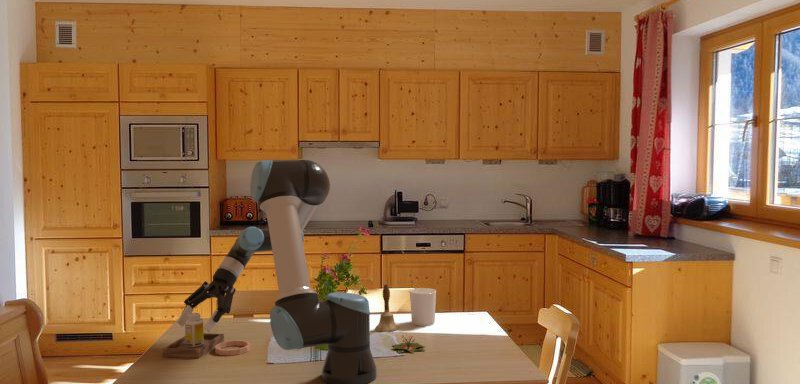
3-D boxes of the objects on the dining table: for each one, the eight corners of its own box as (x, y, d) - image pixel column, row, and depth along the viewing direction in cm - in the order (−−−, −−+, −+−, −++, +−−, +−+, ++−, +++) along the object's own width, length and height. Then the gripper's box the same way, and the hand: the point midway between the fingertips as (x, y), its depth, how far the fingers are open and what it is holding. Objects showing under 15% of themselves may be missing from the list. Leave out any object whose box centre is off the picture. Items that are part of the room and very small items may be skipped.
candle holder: (405, 321, 232) (405, 289, 231) (428, 318, 236) (428, 286, 235) (417, 327, 223) (416, 294, 222) (441, 324, 227) (441, 291, 226)
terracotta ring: (242, 355, 193) (241, 350, 193) (209, 354, 195) (209, 349, 195) (255, 345, 204) (255, 340, 204) (224, 344, 206) (223, 339, 206)
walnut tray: (199, 358, 192) (198, 350, 192) (162, 356, 193) (162, 348, 193) (224, 341, 209) (223, 333, 209) (190, 340, 211) (190, 332, 211)
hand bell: (397, 332, 218) (397, 286, 217) (374, 331, 219) (373, 286, 218) (399, 325, 226) (398, 282, 225) (376, 325, 227) (376, 282, 226)
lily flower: (431, 353, 194) (431, 339, 194) (394, 357, 192) (394, 342, 191) (421, 343, 206) (421, 329, 206) (385, 346, 203) (385, 332, 203)
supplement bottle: (205, 342, 204) (204, 311, 204) (201, 347, 199) (200, 316, 198) (188, 343, 204) (187, 312, 203) (183, 348, 198) (182, 316, 198)
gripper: (259, 283, 208) (226, 338, 196) (209, 276, 222) (175, 327, 210) (247, 270, 203) (212, 326, 192) (197, 263, 217) (161, 315, 205)
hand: (193, 327), depth 201 cm, fingers open, 13 cm apart
